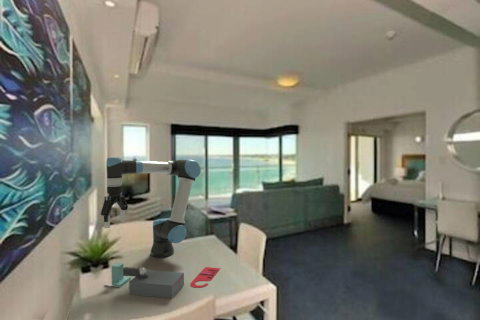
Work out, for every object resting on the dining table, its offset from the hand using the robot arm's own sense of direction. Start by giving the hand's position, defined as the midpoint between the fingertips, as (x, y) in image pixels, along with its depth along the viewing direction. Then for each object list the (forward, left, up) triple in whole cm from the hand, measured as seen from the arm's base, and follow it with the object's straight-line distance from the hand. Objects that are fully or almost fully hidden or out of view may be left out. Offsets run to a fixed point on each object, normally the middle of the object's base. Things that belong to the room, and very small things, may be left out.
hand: (115, 224), depth 152 cm
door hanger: (-8, +48, -29) cm, 57 cm away
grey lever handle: (+11, +18, -23) cm, 31 cm away
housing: (+9, +29, -29) cm, 42 cm away
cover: (+6, +5, -29) cm, 30 cm away
